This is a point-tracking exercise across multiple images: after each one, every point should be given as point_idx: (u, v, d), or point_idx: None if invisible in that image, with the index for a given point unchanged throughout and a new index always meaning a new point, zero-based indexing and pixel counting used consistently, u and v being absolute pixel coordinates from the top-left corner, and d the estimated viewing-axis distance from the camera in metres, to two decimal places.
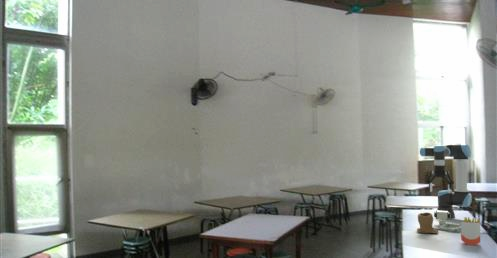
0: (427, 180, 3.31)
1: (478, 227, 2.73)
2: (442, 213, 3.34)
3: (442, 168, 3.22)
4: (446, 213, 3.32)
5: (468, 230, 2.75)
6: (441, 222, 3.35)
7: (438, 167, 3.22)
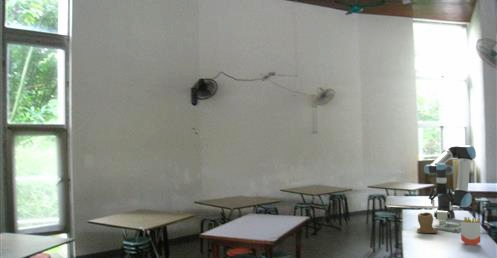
0: (429, 197, 3.42)
1: (478, 227, 2.73)
2: (442, 213, 3.34)
3: (444, 186, 3.33)
4: (446, 213, 3.32)
5: (468, 230, 2.75)
6: (441, 222, 3.35)
7: (440, 185, 3.34)
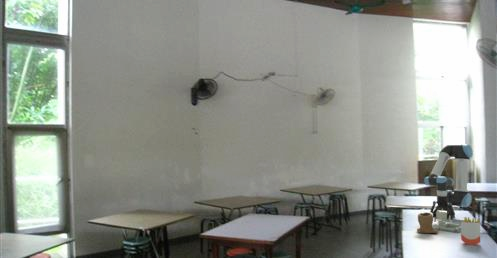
0: (431, 210, 3.41)
1: (478, 227, 2.73)
2: (441, 213, 3.34)
3: (444, 199, 3.33)
4: (445, 213, 3.33)
5: (468, 230, 2.75)
6: (440, 222, 3.35)
7: (441, 198, 3.34)
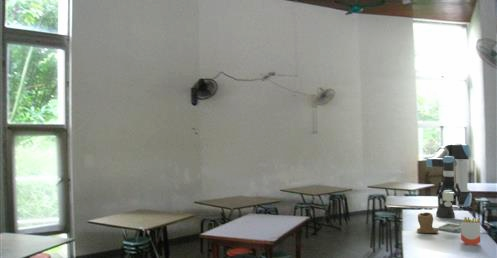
0: (437, 192, 3.27)
1: (478, 227, 2.73)
2: (448, 194, 3.20)
3: (451, 179, 3.19)
4: (452, 194, 3.19)
5: (468, 230, 2.75)
6: (447, 203, 3.21)
7: (447, 178, 3.20)
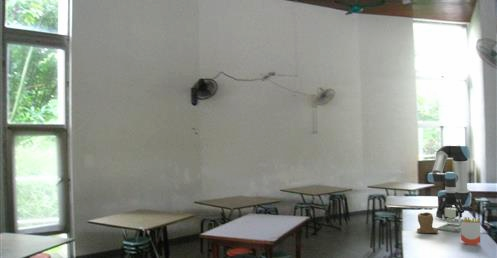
0: (439, 208, 3.25)
1: (478, 227, 2.73)
2: (450, 210, 3.18)
3: (453, 195, 3.16)
4: (454, 210, 3.16)
5: (468, 230, 2.75)
6: (449, 220, 3.19)
7: (449, 194, 3.17)
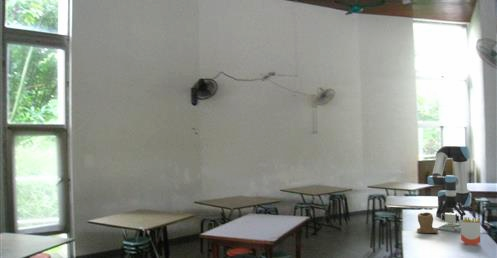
0: (438, 210, 3.25)
1: (478, 227, 2.73)
2: (450, 216, 3.18)
3: (453, 199, 3.16)
4: (454, 215, 3.16)
5: (468, 230, 2.75)
6: (449, 225, 3.19)
7: (449, 198, 3.17)
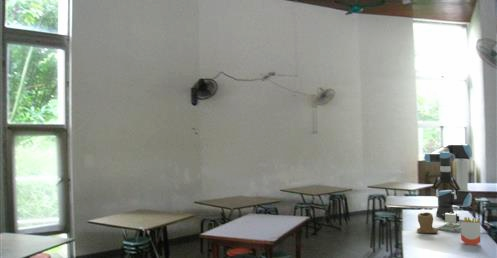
0: (433, 186, 3.33)
1: (478, 227, 2.73)
2: (450, 216, 3.18)
3: (448, 174, 3.24)
4: (455, 216, 3.16)
5: (468, 230, 2.75)
6: (449, 225, 3.19)
7: (444, 173, 3.24)
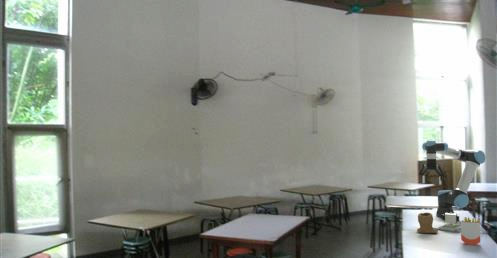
0: (420, 173, 3.54)
1: (478, 227, 2.73)
2: (450, 216, 3.18)
3: (434, 161, 3.45)
4: (455, 216, 3.16)
5: (468, 230, 2.75)
6: (449, 225, 3.19)
7: (430, 160, 3.45)
